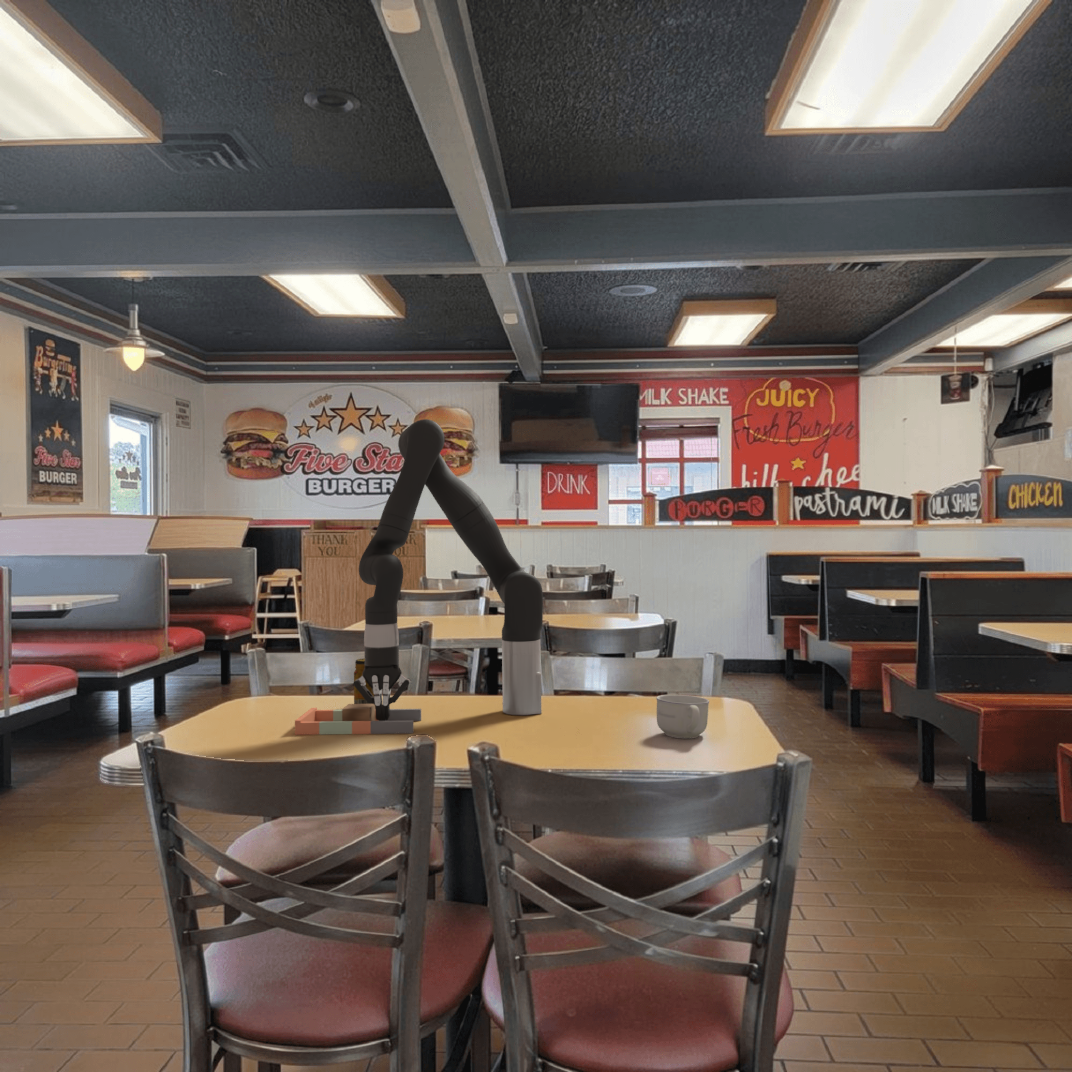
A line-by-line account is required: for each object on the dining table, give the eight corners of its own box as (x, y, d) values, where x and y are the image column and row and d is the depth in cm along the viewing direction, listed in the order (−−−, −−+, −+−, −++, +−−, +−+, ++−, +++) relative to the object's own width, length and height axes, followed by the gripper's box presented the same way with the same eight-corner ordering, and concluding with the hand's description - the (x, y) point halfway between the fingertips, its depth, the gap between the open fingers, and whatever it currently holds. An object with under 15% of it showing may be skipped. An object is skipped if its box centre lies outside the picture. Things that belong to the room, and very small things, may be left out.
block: (375, 723, 193) (375, 703, 193) (369, 729, 187) (369, 709, 187) (348, 723, 193) (348, 703, 193) (342, 729, 187) (342, 709, 187)
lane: (421, 719, 196) (421, 706, 196) (412, 733, 183) (412, 719, 182) (311, 720, 196) (311, 707, 196) (295, 734, 183) (294, 720, 183)
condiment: (372, 704, 215) (372, 656, 215) (389, 709, 208) (388, 660, 208) (346, 708, 210) (345, 659, 210) (362, 713, 204) (362, 663, 204)
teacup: (654, 730, 183) (653, 692, 183) (704, 729, 183) (704, 692, 183) (661, 746, 169) (661, 705, 169) (716, 745, 169) (716, 705, 169)
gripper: (413, 641, 193) (414, 717, 193) (355, 641, 193) (356, 718, 193) (409, 645, 185) (410, 725, 185) (348, 646, 185) (349, 726, 185)
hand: (382, 721), depth 189 cm, fingers closed
